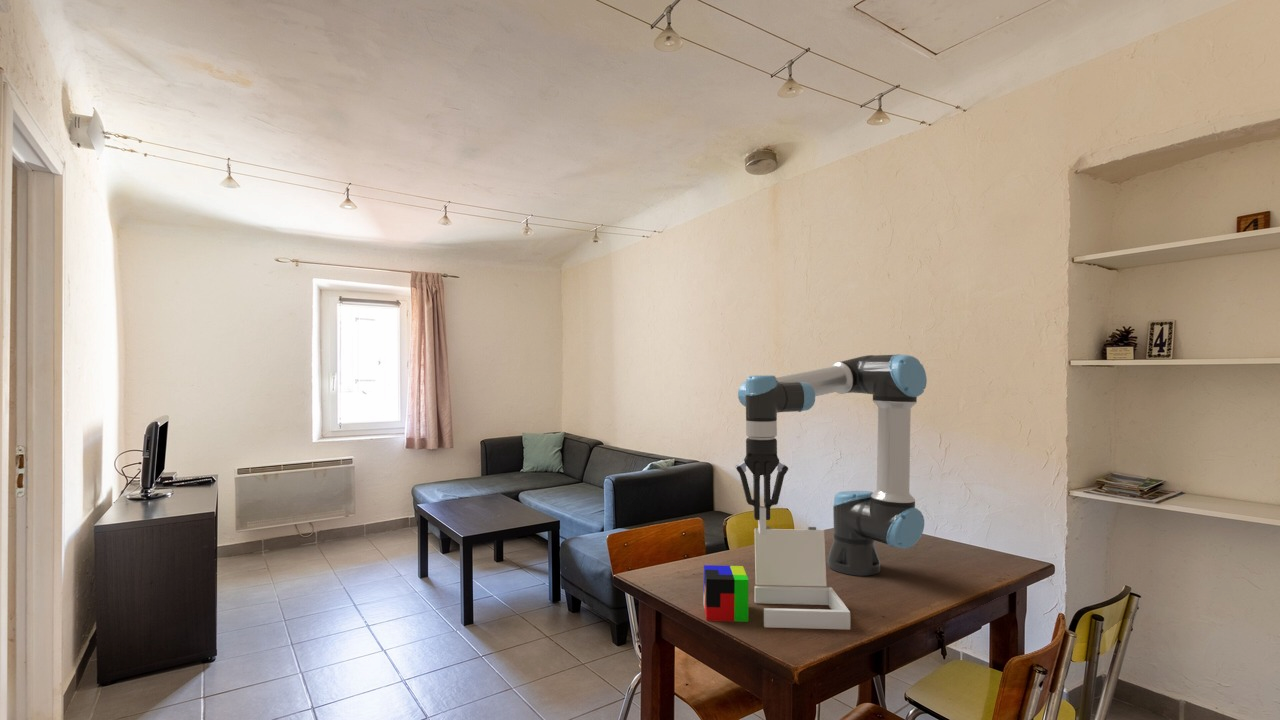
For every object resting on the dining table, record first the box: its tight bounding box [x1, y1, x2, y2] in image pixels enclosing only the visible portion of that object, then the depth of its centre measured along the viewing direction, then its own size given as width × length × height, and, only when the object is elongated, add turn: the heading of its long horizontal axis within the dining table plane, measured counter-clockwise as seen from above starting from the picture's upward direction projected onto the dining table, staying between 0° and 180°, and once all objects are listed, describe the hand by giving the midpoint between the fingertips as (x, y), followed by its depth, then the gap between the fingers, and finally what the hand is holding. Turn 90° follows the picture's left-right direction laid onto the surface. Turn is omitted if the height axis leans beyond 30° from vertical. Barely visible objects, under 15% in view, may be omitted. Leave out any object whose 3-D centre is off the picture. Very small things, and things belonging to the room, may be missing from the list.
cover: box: [754, 525, 827, 587], centre depth 155 cm, size 18×15×1 cm
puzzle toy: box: [703, 564, 750, 623], centre depth 147 cm, size 10×10×10 cm
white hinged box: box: [754, 585, 851, 630], centre depth 146 cm, size 20×15×4 cm
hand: (762, 532), depth 147 cm, fingers closed
